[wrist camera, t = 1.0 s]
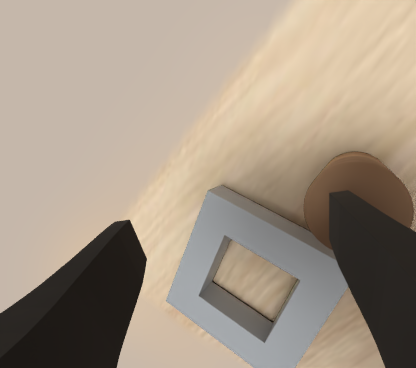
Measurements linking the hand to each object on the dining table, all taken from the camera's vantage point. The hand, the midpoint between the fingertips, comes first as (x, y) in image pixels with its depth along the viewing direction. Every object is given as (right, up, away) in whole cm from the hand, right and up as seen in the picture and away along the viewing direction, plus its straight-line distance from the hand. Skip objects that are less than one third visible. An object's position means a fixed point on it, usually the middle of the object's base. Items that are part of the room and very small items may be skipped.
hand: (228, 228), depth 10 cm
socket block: (+3, -6, +13) cm, 14 cm away
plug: (+9, +2, +8) cm, 12 cm away
